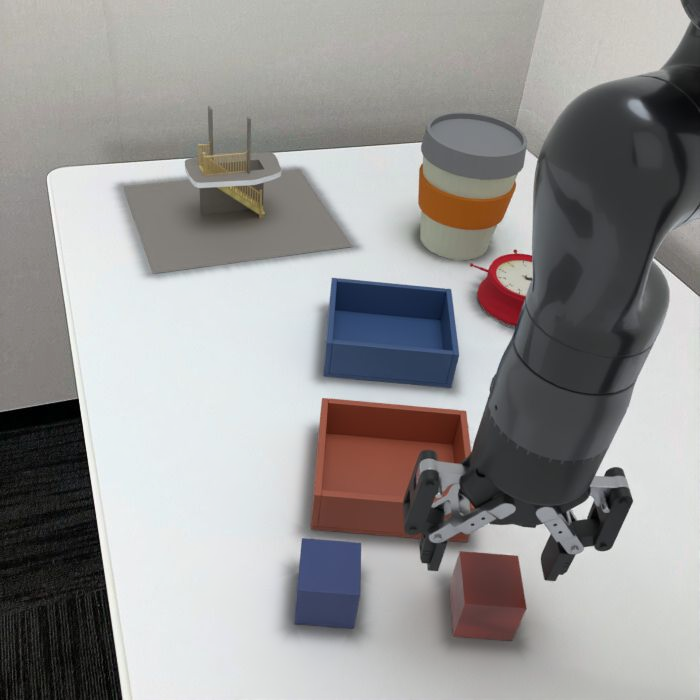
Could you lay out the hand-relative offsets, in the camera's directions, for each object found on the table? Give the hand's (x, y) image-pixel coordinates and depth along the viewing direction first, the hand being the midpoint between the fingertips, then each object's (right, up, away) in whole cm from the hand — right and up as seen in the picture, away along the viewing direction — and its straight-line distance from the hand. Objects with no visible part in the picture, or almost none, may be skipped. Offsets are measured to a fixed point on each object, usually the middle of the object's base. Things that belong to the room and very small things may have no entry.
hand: (489, 565), depth 56 cm
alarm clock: (+11, +20, +35) cm, 42 cm away
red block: (0, -5, +4) cm, 6 cm away
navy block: (-12, -4, +3) cm, 13 cm away
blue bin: (-6, +16, +27) cm, 32 cm away
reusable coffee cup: (+3, +30, +45) cm, 54 cm away
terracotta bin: (-7, +4, +13) cm, 15 cm away
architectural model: (-25, +33, +45) cm, 61 cm away
